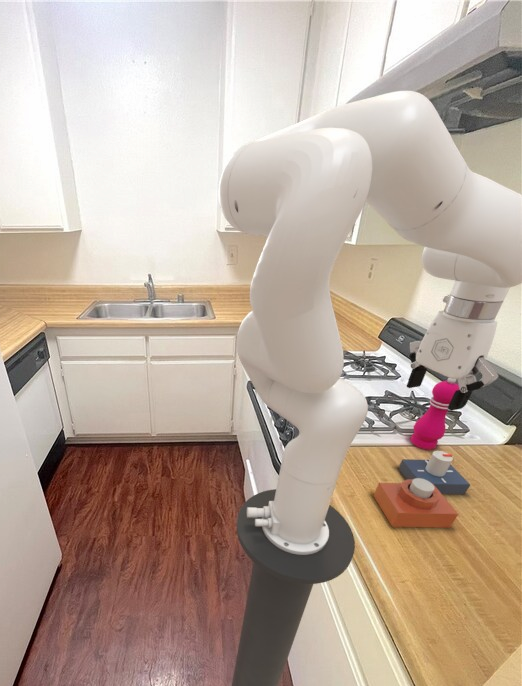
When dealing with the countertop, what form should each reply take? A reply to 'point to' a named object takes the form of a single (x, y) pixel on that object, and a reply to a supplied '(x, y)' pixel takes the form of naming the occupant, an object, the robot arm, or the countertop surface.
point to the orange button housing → (413, 506)
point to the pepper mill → (434, 416)
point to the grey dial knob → (439, 463)
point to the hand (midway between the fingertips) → (432, 397)
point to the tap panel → (445, 484)
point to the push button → (421, 488)
